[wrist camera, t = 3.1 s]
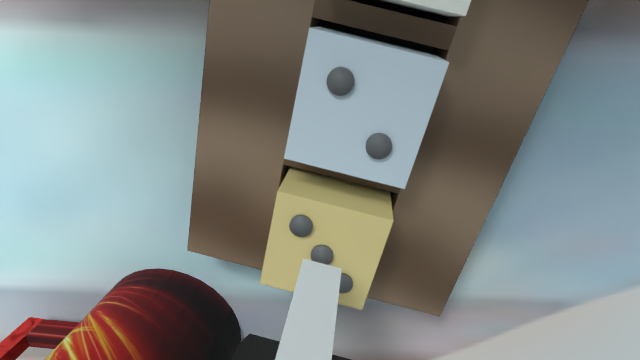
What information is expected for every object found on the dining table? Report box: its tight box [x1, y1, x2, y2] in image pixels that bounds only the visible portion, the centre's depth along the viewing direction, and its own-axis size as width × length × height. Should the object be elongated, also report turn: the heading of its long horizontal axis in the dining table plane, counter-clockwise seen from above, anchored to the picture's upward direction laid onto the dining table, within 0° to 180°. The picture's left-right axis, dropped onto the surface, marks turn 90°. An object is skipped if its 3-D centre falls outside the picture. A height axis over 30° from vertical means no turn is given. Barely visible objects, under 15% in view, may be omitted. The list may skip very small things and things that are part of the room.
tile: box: [260, 166, 394, 310], centre depth 18 cm, size 5×5×4 cm
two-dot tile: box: [284, 26, 449, 189], centre depth 16 cm, size 5×5×4 cm
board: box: [188, 0, 589, 316], centre depth 17 cm, size 20×14×2 cm
